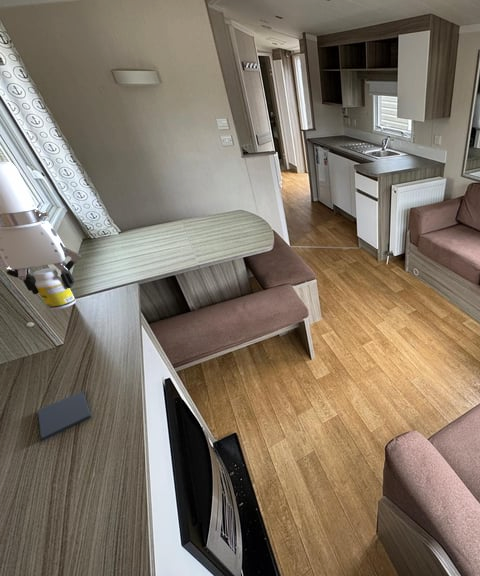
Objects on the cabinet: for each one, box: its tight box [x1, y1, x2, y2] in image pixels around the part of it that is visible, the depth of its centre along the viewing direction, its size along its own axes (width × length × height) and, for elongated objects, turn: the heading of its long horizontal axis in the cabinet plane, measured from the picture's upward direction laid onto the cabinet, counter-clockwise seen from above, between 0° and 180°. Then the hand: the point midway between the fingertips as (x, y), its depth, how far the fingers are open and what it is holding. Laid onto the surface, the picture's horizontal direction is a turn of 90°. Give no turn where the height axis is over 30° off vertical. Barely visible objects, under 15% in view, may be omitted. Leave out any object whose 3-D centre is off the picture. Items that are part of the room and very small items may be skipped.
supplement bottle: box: [32, 267, 77, 311], centre depth 78 cm, size 5×5×10 cm
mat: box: [37, 390, 92, 441], centre depth 62 cm, size 10×7×1 cm
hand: (53, 288), depth 78 cm, fingers closed on supplement bottle, 5 cm apart
